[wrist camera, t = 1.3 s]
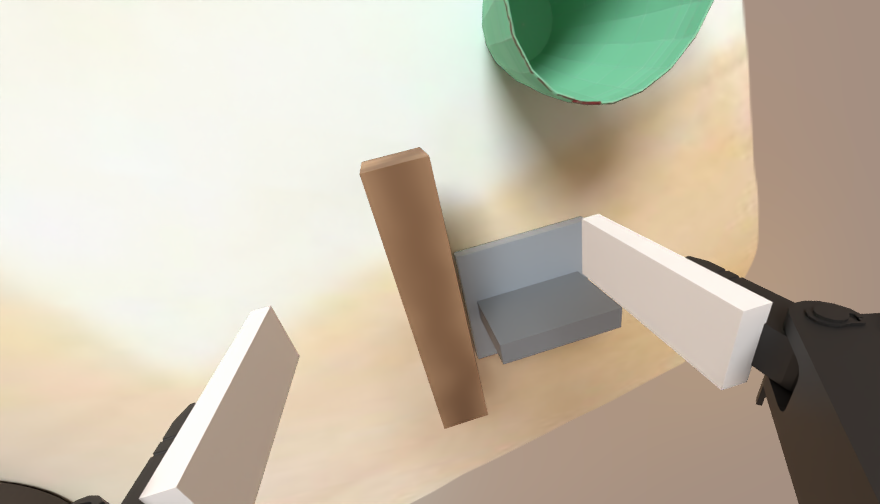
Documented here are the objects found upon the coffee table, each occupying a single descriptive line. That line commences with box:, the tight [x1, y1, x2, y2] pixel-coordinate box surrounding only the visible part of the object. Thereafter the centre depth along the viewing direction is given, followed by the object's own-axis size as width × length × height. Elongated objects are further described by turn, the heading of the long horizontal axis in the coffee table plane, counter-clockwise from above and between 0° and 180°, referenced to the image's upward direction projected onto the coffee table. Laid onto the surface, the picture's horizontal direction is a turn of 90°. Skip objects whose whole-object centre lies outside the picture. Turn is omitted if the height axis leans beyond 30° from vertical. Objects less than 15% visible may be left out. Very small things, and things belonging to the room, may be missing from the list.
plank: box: [360, 147, 488, 429], centre depth 22 cm, size 4×20×4 cm, turn 13°
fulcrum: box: [454, 216, 622, 364], centre depth 28 cm, size 12×12×7 cm
